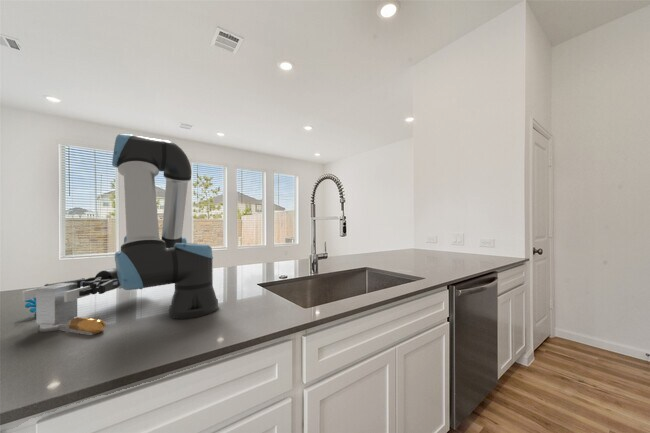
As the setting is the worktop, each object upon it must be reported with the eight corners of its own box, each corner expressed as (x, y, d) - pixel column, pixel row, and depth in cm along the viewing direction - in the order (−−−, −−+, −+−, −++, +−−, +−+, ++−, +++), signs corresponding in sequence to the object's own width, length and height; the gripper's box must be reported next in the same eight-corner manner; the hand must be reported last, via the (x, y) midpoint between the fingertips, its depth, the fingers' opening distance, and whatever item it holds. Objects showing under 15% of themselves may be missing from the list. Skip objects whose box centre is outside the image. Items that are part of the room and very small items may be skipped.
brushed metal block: (77, 316, 79) (77, 283, 79) (54, 324, 73) (54, 288, 73) (60, 315, 79) (60, 283, 79) (36, 323, 73) (36, 288, 73)
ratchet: (115, 328, 74) (115, 311, 74) (87, 339, 67) (87, 320, 67) (64, 321, 80) (64, 305, 80) (33, 330, 73) (33, 313, 73)
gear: (33, 315, 81) (22, 291, 84) (21, 328, 81) (11, 303, 84) (74, 308, 91) (63, 287, 94) (64, 319, 92) (53, 298, 95)
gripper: (144, 289, 92) (83, 310, 71) (82, 288, 95) (6, 308, 74) (144, 268, 93) (83, 283, 71) (82, 268, 95) (6, 282, 74)
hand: (43, 296), depth 73 cm, fingers open, 13 cm apart
